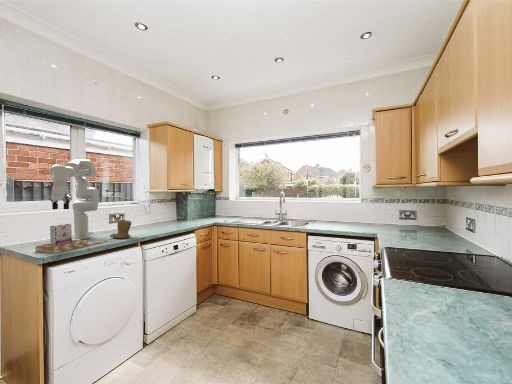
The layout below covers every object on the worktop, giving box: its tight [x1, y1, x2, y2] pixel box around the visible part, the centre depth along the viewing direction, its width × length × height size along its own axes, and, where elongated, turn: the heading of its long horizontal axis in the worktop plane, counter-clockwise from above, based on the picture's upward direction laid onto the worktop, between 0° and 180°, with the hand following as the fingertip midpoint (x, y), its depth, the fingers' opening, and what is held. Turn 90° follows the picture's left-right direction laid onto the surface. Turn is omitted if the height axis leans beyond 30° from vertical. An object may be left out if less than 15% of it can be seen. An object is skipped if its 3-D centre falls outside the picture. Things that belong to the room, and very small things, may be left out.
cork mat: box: [88, 239, 108, 246], centre depth 182 cm, size 14×7×1 cm, turn 166°
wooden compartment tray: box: [34, 239, 89, 254], centre depth 166 cm, size 22×17×4 cm
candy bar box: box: [49, 223, 73, 246], centre depth 165 cm, size 11×5×16 cm, turn 168°
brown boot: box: [108, 219, 132, 239], centre depth 203 cm, size 15×12×15 cm
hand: (60, 209), depth 164 cm, fingers open, 9 cm apart
